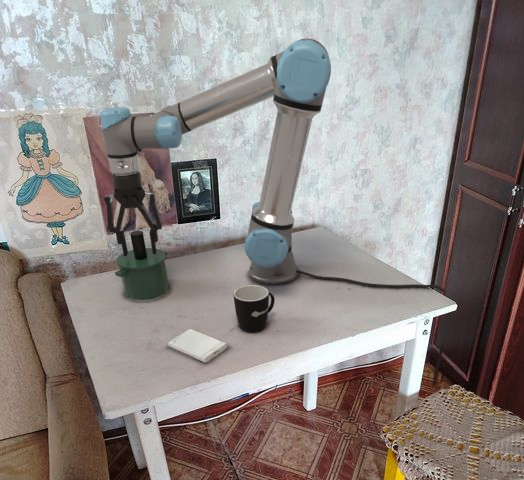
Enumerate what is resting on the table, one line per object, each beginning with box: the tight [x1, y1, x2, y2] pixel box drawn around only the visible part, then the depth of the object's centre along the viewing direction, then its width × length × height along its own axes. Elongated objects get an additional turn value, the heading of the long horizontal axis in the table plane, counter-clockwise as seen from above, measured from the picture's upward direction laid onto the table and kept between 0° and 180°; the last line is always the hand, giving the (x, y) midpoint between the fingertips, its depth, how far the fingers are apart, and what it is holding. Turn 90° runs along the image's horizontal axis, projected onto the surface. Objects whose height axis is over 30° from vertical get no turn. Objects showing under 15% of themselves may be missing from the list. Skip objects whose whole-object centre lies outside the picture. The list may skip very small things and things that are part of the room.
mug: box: [233, 284, 276, 334], centre depth 130 cm, size 12×9×10 cm
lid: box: [115, 230, 167, 270], centre depth 143 cm, size 14×14×9 cm
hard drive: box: [167, 328, 228, 364], centre depth 124 cm, size 2×8×12 cm
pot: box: [114, 249, 170, 301], centre depth 148 cm, size 13×18×10 cm
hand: (140, 253), depth 144 cm, fingers open, 8 cm apart
